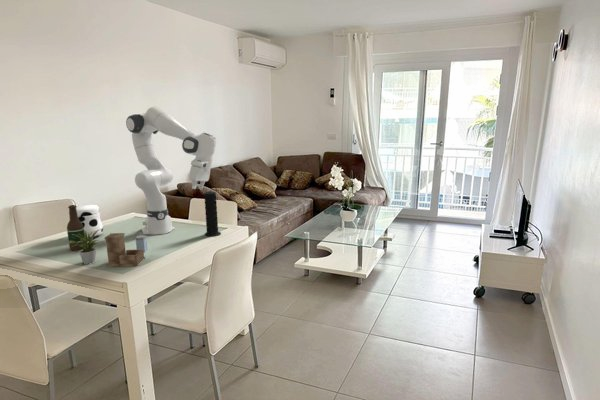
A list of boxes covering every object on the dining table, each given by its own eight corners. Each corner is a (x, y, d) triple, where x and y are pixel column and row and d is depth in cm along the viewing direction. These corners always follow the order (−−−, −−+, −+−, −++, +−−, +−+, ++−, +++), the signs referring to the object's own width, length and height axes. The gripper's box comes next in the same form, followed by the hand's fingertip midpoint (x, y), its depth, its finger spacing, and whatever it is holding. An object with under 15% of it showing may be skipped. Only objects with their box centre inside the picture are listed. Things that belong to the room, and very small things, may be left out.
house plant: (93, 254, 197) (89, 224, 194) (112, 258, 192) (109, 226, 189) (67, 264, 184) (62, 231, 181) (87, 268, 179) (83, 234, 176)
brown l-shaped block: (144, 258, 191) (141, 231, 188) (137, 266, 181) (134, 237, 178) (115, 259, 190) (112, 232, 187) (106, 266, 180) (102, 238, 178)
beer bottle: (89, 247, 210) (84, 204, 205) (77, 251, 202) (71, 207, 198) (78, 245, 212) (73, 203, 207) (66, 250, 205) (60, 206, 200)
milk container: (104, 231, 240) (100, 203, 236) (103, 238, 224) (99, 208, 221) (72, 235, 232) (68, 206, 229) (69, 243, 217) (65, 212, 213)
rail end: (147, 249, 204) (146, 235, 202) (144, 252, 200) (143, 237, 198) (139, 250, 204) (138, 235, 202) (137, 252, 200) (135, 237, 198)
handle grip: (218, 236, 225) (223, 232, 234) (215, 192, 219) (220, 189, 229) (201, 236, 226) (207, 231, 235) (198, 192, 220) (204, 189, 230)
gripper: (204, 163, 215) (198, 187, 215) (189, 161, 194) (183, 187, 195) (214, 166, 214) (209, 190, 215) (201, 163, 194) (195, 190, 194)
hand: (197, 188), depth 205 cm, fingers open, 8 cm apart
